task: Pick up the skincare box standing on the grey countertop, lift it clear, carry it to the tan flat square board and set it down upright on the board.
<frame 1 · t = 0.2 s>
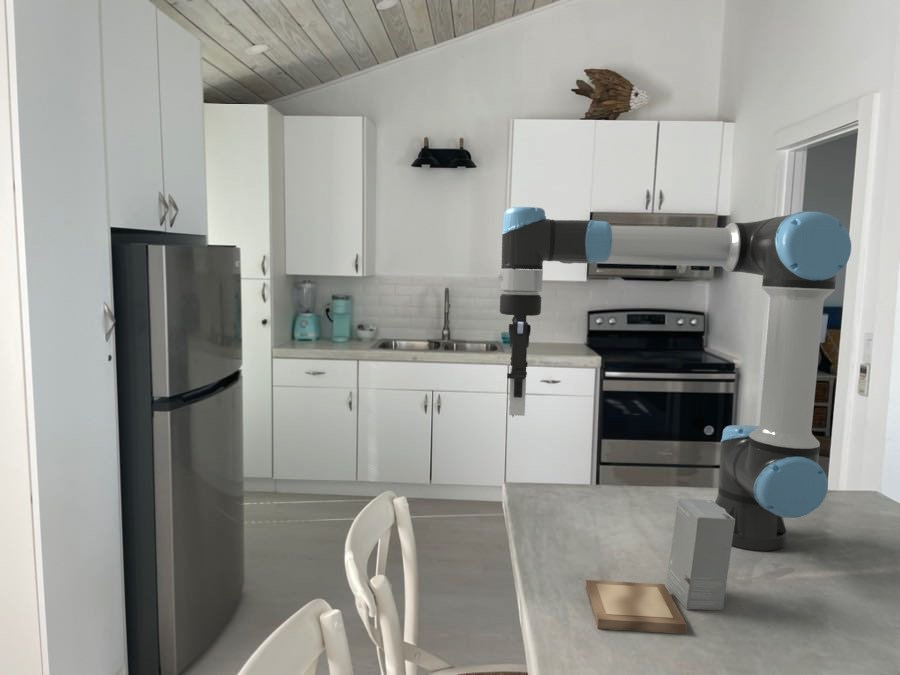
hand: (516, 407, 127), 28 cm above the countertop, fingers open, 13 cm apart
skincare box: (696, 600, 113), on the countertop
tan flat square board: (632, 609, 108), on the countertop
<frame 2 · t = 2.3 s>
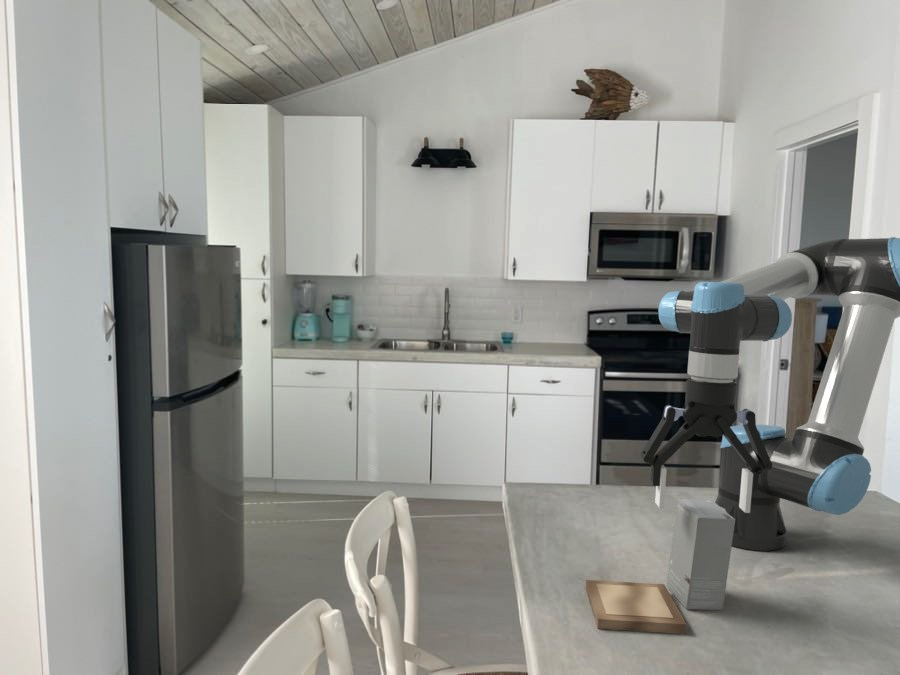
hand: (701, 507, 111), 16 cm above the countertop, fingers open, 13 cm apart
nothing on the countertop moved.
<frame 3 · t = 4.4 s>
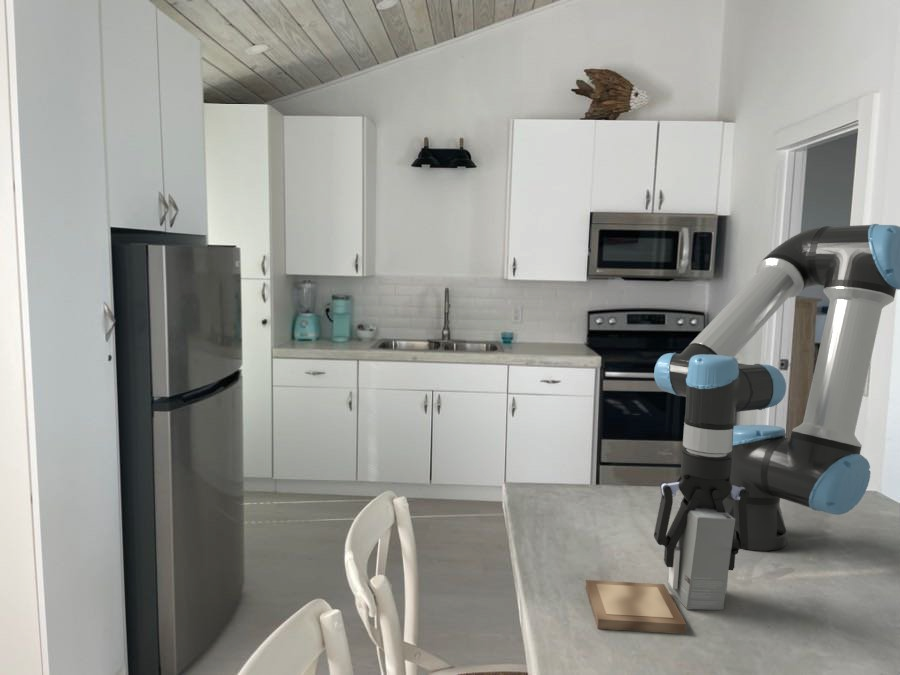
hand: (697, 586, 113), 2 cm above the countertop, fingers closed on skincare box, 7 cm apart
skincare box: (696, 599, 113), on the countertop, touching gripper
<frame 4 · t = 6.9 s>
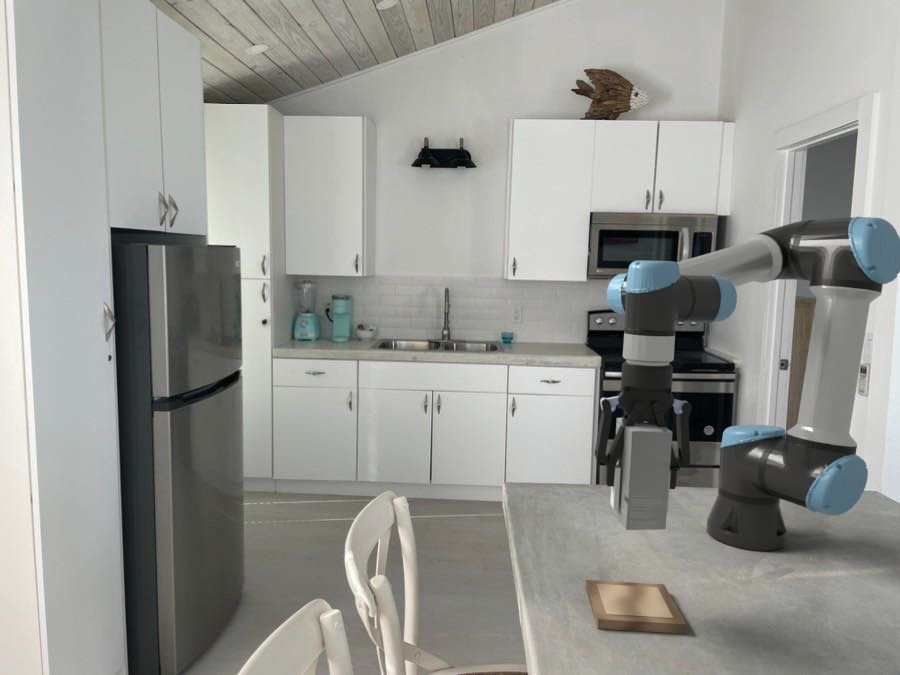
hand: (638, 507, 107), 17 cm above the countertop, fingers closed on skincare box, 7 cm apart
skincare box: (640, 522, 107), point 14 cm above the countertop, touching gripper
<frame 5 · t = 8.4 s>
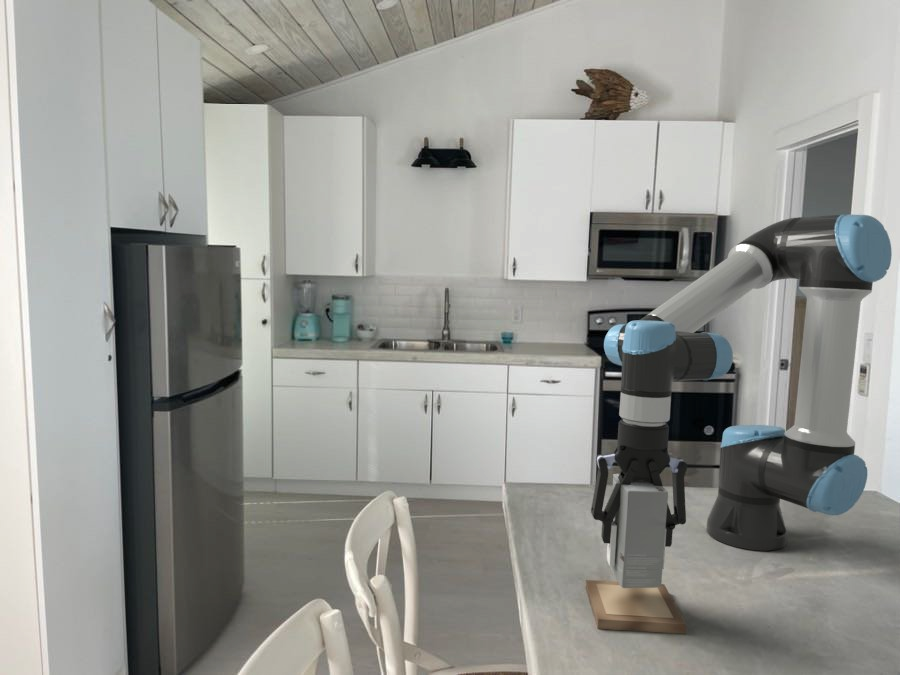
hand: (634, 563, 108), 8 cm above the countertop, fingers closed on skincare box, 7 cm apart
skincare box: (636, 578, 108), point 5 cm above the countertop, touching gripper
when the fingers open (5 cm above the countertop, at t = 9.7 s): skincare box drops 1 cm, resting on tan flat square board.
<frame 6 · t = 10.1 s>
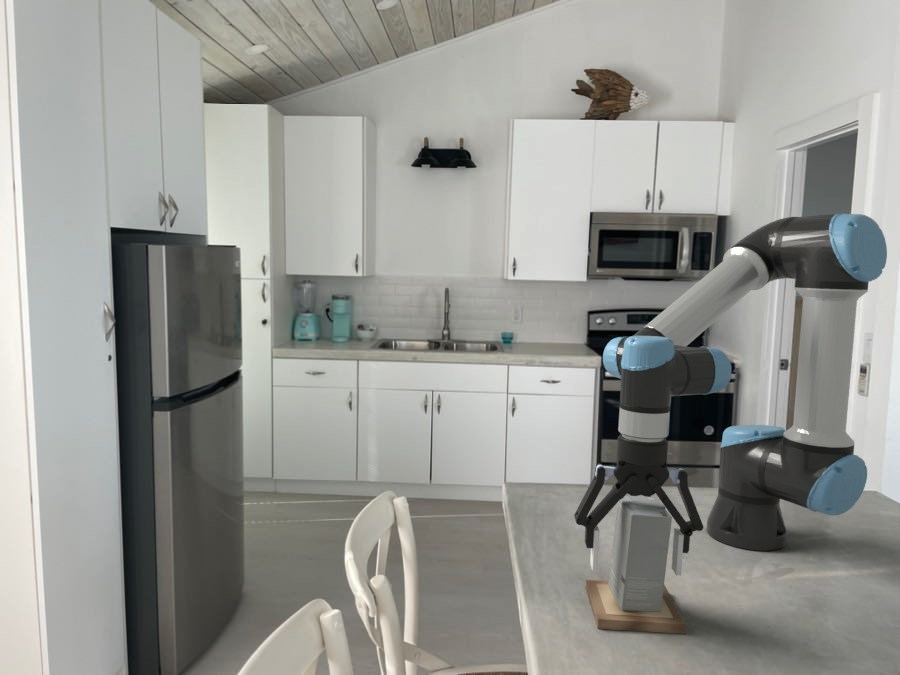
hand: (634, 569, 108), 7 cm above the countertop, fingers open, 12 cm apart
skincare box: (636, 601, 108), point 1 cm above the countertop, touching tan flat square board
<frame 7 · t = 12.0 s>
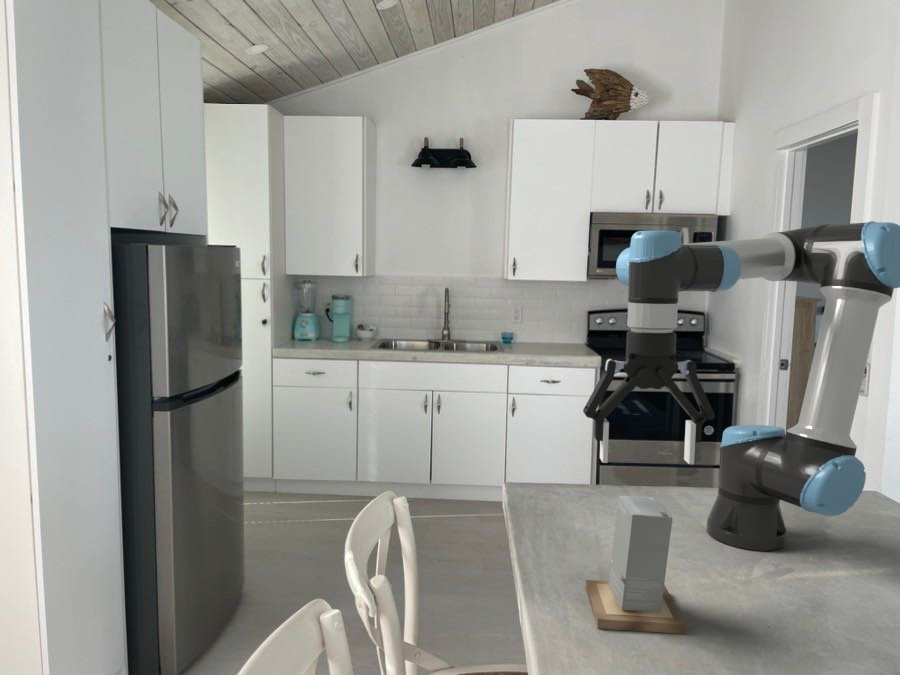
hand: (646, 461, 110), 23 cm above the countertop, fingers open, 13 cm apart
nothing on the countertop moved.
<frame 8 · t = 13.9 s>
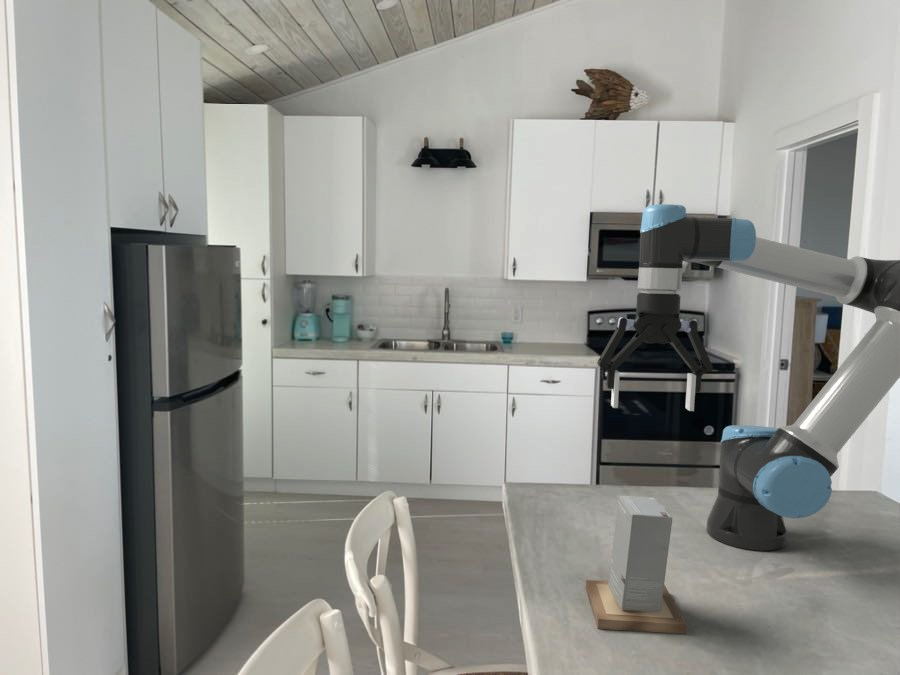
hand: (651, 408, 125), 29 cm above the countertop, fingers open, 13 cm apart
nothing on the countertop moved.
at the end: skincare box inside the target area on the tan flat square board (0.5 cm from its centre), point 1.4 cm above the tan flat square board's base; skincare box tilted 0°; the gripper is holding nothing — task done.
